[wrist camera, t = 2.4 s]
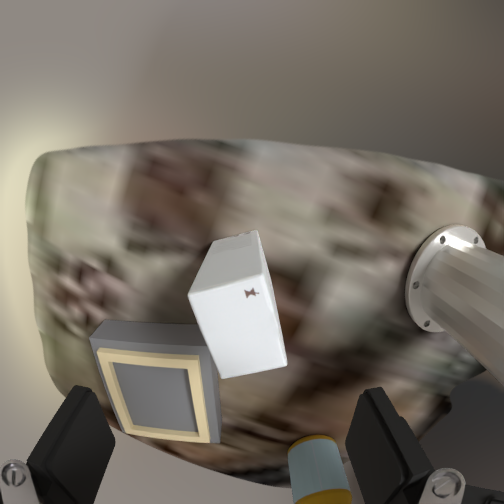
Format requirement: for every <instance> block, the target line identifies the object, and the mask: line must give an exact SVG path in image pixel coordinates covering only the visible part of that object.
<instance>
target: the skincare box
mask: <svg viewBox="0 0 504 504" xmlns="http://www.w3.org/2000/svg"><path fill="white" fill-rule="evenodd" d="M188 299H189V301H190V304H191V307H192V310H193V312H194V315H195V317H196V320H197V322H198V325H199V328H200V330H201V332H202V335H203V337H204V340H205V342H206V344H207V346H208V349H209V351H210V353H211V355H212V358H213V360H214V363H215V365H216V367H217V369H218V372H219V374H220V377H221V379H226V378H231V377H236V376H241V375H246V374H251V373H256V372H261V371H266V370H271V369H276V368H281V367H285V366H287V358H286V353H285V347H284V342H283V336H282V331H281V326H280V322H279V317H278V312H277V307H276V302H275V297H274V292H273V287H272V282H271V278H270V274H269V271H268V267H267V263H266V259H265V256H264V252H263V249H262V245H261V241H260V238H259V234H258V231H257V230H253V231H250V232H246V233H242V234H238V235H235V236H231V237H228V238H224V239H220V240H216V241H213V243H212V245H211V247H210V249H209V251H208V253H207V255H206V257H205V259H204V261H203V263H202V265H201V267H200V269H199V271H198V273H197V275H196V278H195V280H194V282H193V284H192V286H191V288H190V290H189V292H188Z"/></svg>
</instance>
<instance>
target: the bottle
mask: <svg viewBox="0 0 504 504" xmlns="http://www.w3.org/2000/svg"><path fill="white" fill-rule="evenodd" d="M287 456H288V464H289V472H290V479H291V486H292V494H293V501H294V504H351V501H352V495H351V491H350V488H349V484H348V481H347V477H346V474H345V471H344V467H343V464H342V461H341V457H340V454H339V451H338V447H337V444H336V441H335V440H334V439H333V438H331V437H328V436H325V435H310V436H306V437H303V438H301V439H299V440H297V441H296V442H295V443H293V444H292V446H291V447H290V448H289V449H288V452H287Z"/></svg>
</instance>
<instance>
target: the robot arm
mask: <svg viewBox="0 0 504 504" xmlns="http://www.w3.org/2000/svg"><path fill="white" fill-rule="evenodd" d="M405 300H406V306H407V309H408V312H409V315H410V316H411V318H412V320H413V321H414V322H415V323H416V324H417V325H418V326H419V327H421V328H422V329H423V330H426V331H429V332H443V331H446V332H447V333H448V334H449V335H450V336H451V337H453V338H454V339H455V340H456V341H457V342H458V343H459V344H460V345H461V346H462V347H463V348H465V349H466V350H467V351H468V352H469V353H470V354H471V355H472V356H473V357H474V358H475V359H476V360H477V361H478V362H479V363H480V364H481V365H483V366H484V367H485V368H486V369H487V370H488V371H489V372H490V373H491V374H492V375H493V376H494V377H495V378H496V379H497V380H498V381H499V382H500V383H501V384H502V385H503V386H504V256H502V255H499V254H497V253H495V252H492V251H490V250H487V249H486V247H485V244H484V242H483V240H482V239H481V237H480V235H479V234H478V233H477V232H476V231H474V230H473V229H471V228H469V227H466V226H463V225H454V224H453V225H449V226H445V227H443V228H441V229H439V230H437V231H436V232H435V233H433V234H432V235H431V236H430V237H429V238H428V239H427V240H426V241H425V242H424V243H423V244H422V246H421V247H420V249H419V250H418V252H417V253H416V255H415V257H414V259H413V261H412V263H411V266H410V269H409V272H408V275H407V281H406V286H405ZM345 445H346V450H347V452H348V455H349V458H350V461H351V464H352V467H353V469H354V472H355V475H356V478H357V481H358V484H359V487H360V490H361V493H362V495H363V499H364V502H365V504H504V492H501V491H496V490H490V489H485V488H479V487H475V486H470V485H465V480H464V477H463V476H462V474H461V473H460V472H458V471H457V470H454V469H451V468H443V469H439V470H437V471H435V470H434V468H433V466H432V465H431V463H430V461H429V459H428V458H427V456H426V454H425V452H424V450H423V449H422V448H421V445H420V444H419V442H418V440H417V438H416V437H415V435H414V433H413V432H412V430H411V428H410V427H409V425H408V423H407V422H406V420H405V419H404V418H403V417H401V416H400V417H399V415H398V413H397V411H396V410H395V408H394V406H393V405H392V403H391V401H390V400H389V398H388V396H387V395H386V393H385V391H384V390H383V388H382V387H377V388H371V389H366V390H365V391H364V393H363V394H360V396H359V399H358V402H357V406H356V409H355V412H354V416H353V419H352V422H351V425H350V428H349V431H348V434H347V437H346V441H345ZM114 447H115V437H114V435H113V433H112V431H111V429H110V427H109V425H108V422H107V420H106V418H105V416H104V413H103V411H102V409H101V406H100V404H99V401H98V399H97V396H96V394H95V393H94V392H92V390H91V389H90V388H88V387H83V386H78V385H76V386H74V387H73V388H72V390H71V391H70V393H69V394H68V396H67V397H66V399H65V400H64V402H63V403H62V405H61V406H60V408H59V409H58V411H57V413H56V414H55V415H54V417H53V419H52V420H51V422H50V423H49V425H48V427H47V428H46V430H45V431H44V433H43V434H42V436H41V438H40V439H39V441H38V443H37V444H36V446H35V448H34V449H33V451H32V453H31V454H30V456H29V458H28V459H27V463H26V464H25V463H24V462H22V461H20V460H16V459H14V460H8V461H6V462H5V463H3V464H2V465H1V467H0V504H93V503H94V501H95V498H96V495H97V492H98V489H99V487H100V484H101V481H102V478H103V476H104V473H105V470H106V468H107V465H108V462H109V460H110V457H111V455H112V452H113V449H114Z"/></svg>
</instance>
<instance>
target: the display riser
mask: <svg viewBox="0 0 504 504" xmlns="http://www.w3.org/2000/svg"><path fill="white" fill-rule="evenodd" d="M89 339H90V343H91V346H92V350H93V353H94V356H95V360H96V363H97V366H98V369H99V372H100V375H101V378H102V381H103V384H104V387H105V390H106V392H107V395H108V398H109V400H110V403H111V406H112V408H113V411H114V413H115V416H116V418H117V420H118V423H119V425H120V427H121V430H122V432H123V433H128V434H133V435H139V436H145V437H152V438H159V439H168V440H177V441H187V442H201V443H220V437H221V426H222V415H221V405H220V395H219V385H218V373H217V367H216V365H215V363H214V360H213V358H212V355H211V353H210V351H209V349H208V346H207V344H206V342H205V340H204V337H203V335H202V332H201V330H200V328H199V325H198V324H169V323H147V322H131V321H117V320H104V321H103V323H102V324H101V325H100V326H99V327H98V328H97V329H96V330H95V332H94V333H93V334H92V335H91V336H90V337H89Z"/></svg>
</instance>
